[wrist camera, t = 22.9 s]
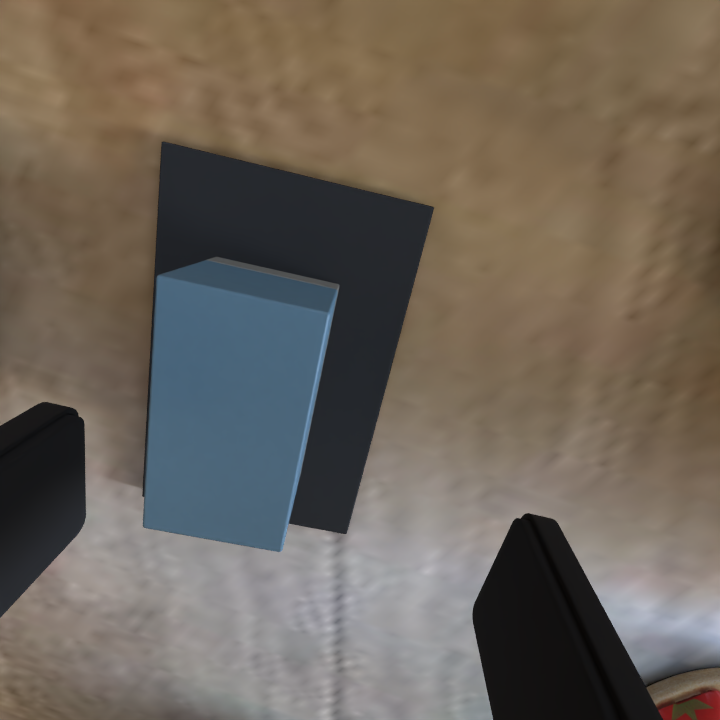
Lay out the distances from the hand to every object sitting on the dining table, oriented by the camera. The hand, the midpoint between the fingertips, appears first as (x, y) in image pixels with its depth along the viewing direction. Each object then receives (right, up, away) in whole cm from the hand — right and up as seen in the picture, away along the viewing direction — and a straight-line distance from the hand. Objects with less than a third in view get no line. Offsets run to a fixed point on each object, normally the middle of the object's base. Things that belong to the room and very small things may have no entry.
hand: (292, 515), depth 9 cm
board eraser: (-2, +3, +7) cm, 8 cm away
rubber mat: (-2, +3, +7) cm, 8 cm away
